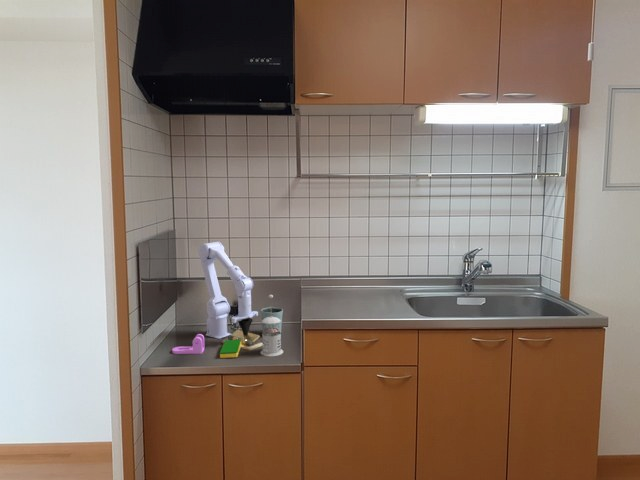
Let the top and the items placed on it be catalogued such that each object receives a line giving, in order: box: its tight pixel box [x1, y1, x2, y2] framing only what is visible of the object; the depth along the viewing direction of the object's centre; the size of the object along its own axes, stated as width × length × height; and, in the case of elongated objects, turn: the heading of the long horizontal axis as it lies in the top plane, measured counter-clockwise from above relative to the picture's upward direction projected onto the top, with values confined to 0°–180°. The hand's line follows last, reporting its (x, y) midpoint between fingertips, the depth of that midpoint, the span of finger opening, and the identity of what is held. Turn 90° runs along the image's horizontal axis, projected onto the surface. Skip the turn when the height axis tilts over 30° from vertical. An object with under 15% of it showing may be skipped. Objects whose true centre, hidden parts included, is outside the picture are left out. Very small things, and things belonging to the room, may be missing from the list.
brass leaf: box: [231, 329, 261, 344], centre depth 219 cm, size 14×7×2 cm, turn 53°
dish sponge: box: [219, 339, 242, 359], centre depth 208 cm, size 7×14×2 cm, turn 1°
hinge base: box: [220, 335, 263, 351], centre depth 219 cm, size 18×9×3 cm, turn 53°
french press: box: [259, 294, 284, 357], centre depth 208 cm, size 10×12×25 cm
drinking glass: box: [260, 306, 284, 336], centre depth 231 cm, size 10×10×12 cm
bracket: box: [172, 333, 205, 355], centre depth 209 cm, size 13×6×7 cm, turn 92°
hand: (245, 334), depth 220 cm, fingers closed
